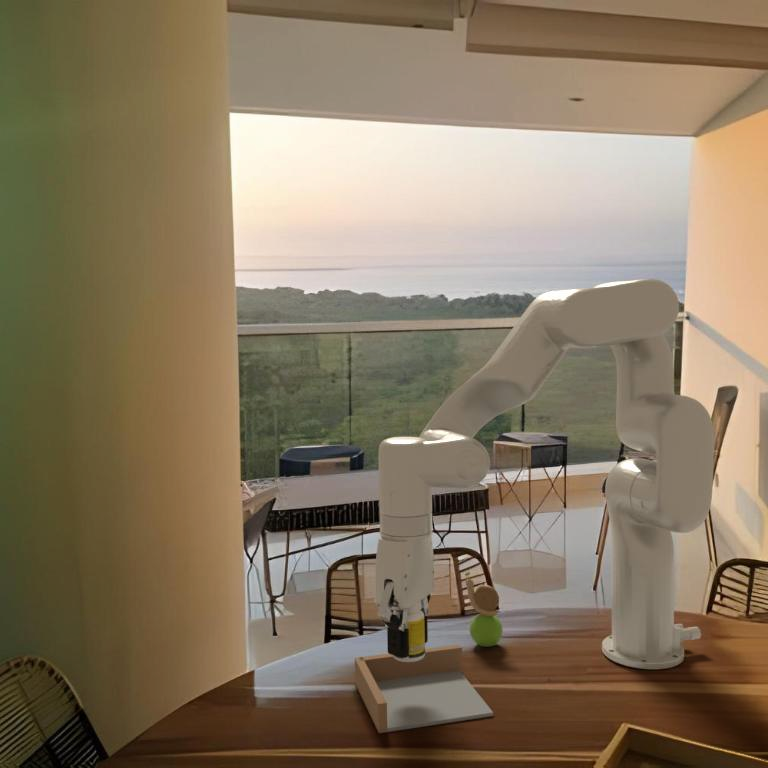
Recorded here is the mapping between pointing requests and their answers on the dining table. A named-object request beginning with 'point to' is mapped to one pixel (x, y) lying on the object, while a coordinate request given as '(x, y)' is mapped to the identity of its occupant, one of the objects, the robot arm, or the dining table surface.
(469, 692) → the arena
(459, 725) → the dining table surface
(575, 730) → the dining table surface
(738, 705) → the dining table surface
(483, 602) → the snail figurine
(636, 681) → the dining table surface
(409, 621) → the supplement bottle
